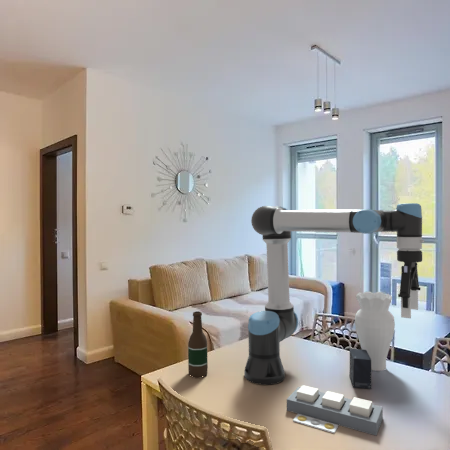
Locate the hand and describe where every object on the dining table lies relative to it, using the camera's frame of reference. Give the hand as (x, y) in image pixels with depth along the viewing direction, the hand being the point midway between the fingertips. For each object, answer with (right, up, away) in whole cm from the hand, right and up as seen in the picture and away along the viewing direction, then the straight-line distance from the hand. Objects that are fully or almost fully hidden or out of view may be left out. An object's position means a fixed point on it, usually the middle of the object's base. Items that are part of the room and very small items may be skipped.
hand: (410, 313), depth 122 cm
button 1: (-36, -25, -7) cm, 44 cm away
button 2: (-29, -25, -12) cm, 40 cm away
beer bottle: (-72, -28, +19) cm, 80 cm away
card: (-36, -28, -17) cm, 48 cm away
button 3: (-22, -25, -16) cm, 37 cm away
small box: (-13, -28, +10) cm, 32 cm away
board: (-29, -28, -12) cm, 42 cm away
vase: (-2, -27, +23) cm, 36 cm away
